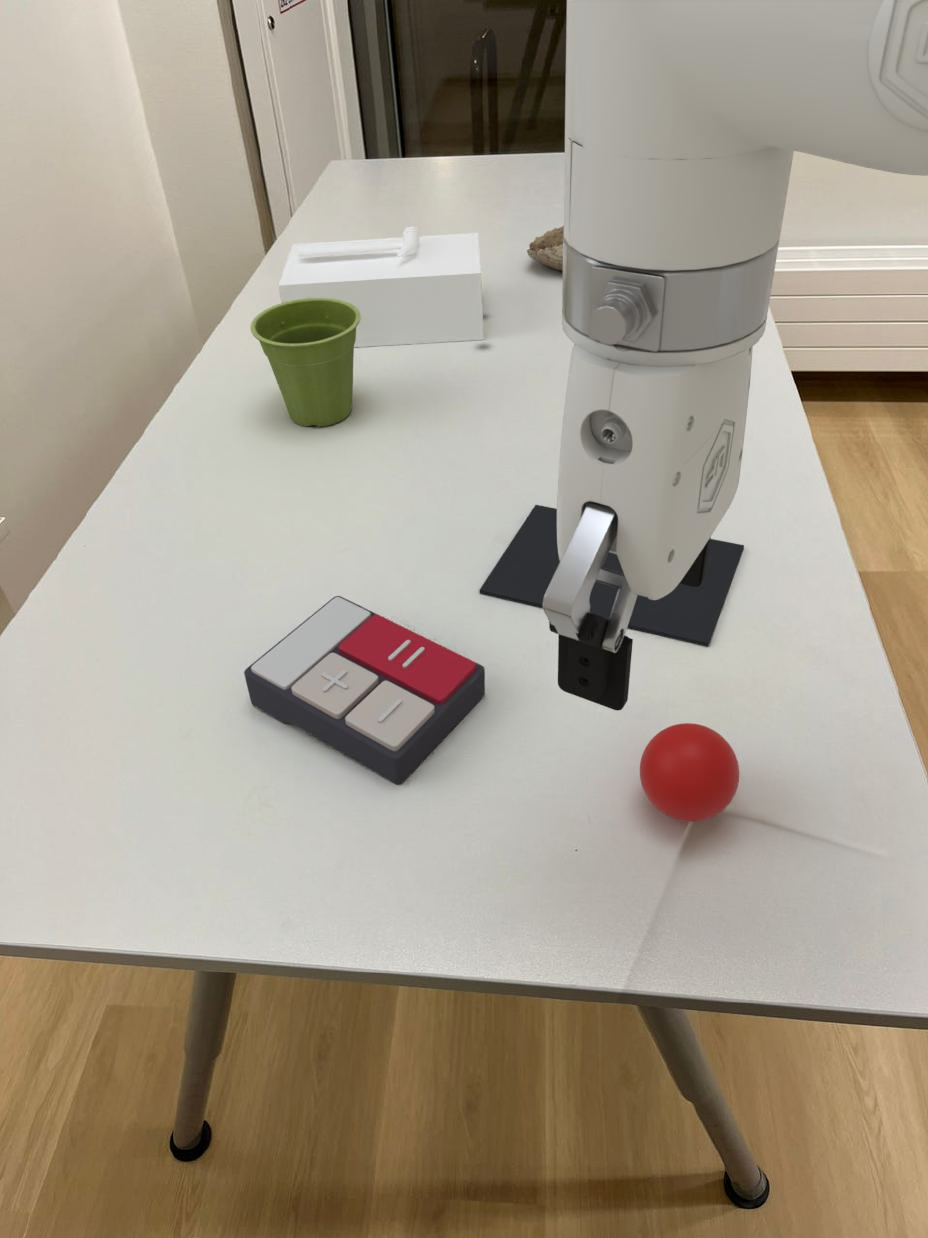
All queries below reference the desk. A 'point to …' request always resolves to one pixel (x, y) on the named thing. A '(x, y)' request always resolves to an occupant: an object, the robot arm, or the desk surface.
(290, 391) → the plant pot
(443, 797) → the desk surface
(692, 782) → the red ball
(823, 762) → the desk surface
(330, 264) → the tissue box
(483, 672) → the calculator
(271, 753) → the desk surface
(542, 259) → the tan rough lump
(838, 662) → the desk surface
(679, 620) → the side mat
